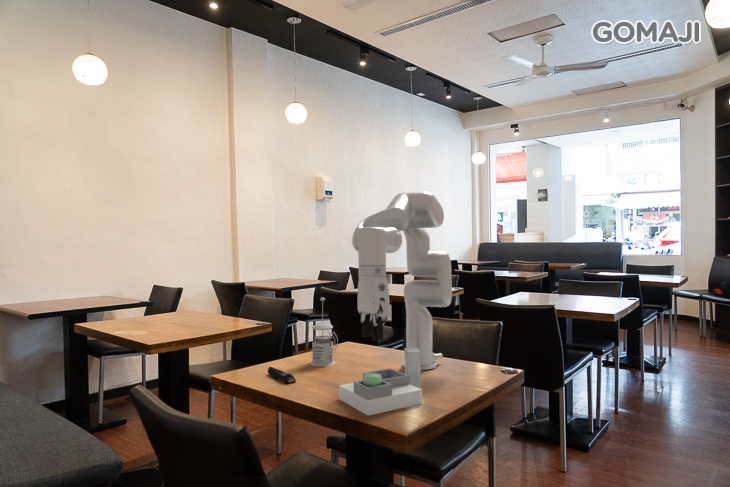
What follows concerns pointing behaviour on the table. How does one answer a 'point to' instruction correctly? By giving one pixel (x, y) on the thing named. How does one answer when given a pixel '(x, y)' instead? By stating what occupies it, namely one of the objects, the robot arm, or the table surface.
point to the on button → (372, 379)
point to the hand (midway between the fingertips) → (372, 337)
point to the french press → (323, 345)
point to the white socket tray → (381, 393)
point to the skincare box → (413, 366)
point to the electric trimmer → (281, 375)
